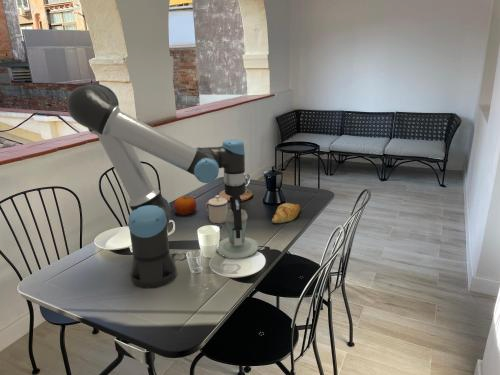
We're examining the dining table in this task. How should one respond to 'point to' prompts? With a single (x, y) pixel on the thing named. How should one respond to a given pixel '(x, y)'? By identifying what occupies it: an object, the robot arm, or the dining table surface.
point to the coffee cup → (230, 225)
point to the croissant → (286, 213)
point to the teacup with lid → (217, 209)
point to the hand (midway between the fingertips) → (236, 239)
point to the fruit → (185, 205)
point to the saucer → (237, 248)
